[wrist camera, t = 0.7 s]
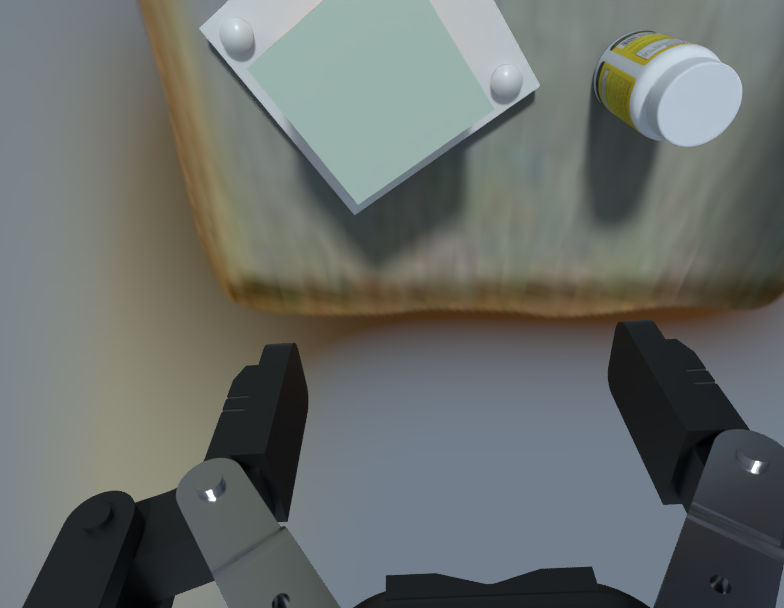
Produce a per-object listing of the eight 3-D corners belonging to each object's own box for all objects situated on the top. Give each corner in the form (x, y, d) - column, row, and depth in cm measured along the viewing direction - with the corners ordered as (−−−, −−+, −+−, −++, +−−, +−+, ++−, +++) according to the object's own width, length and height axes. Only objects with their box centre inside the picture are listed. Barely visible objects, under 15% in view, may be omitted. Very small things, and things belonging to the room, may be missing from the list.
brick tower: (403, -161, 27) (412, -203, 19) (535, 81, 33) (582, 123, 25) (204, 25, 31) (147, 52, 23) (355, 207, 38) (348, 275, 30)
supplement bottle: (632, 126, 35) (695, 172, 28) (575, 88, 33) (627, 127, 26) (688, 56, 32) (773, 87, 25) (630, 11, 31) (703, 31, 24)
